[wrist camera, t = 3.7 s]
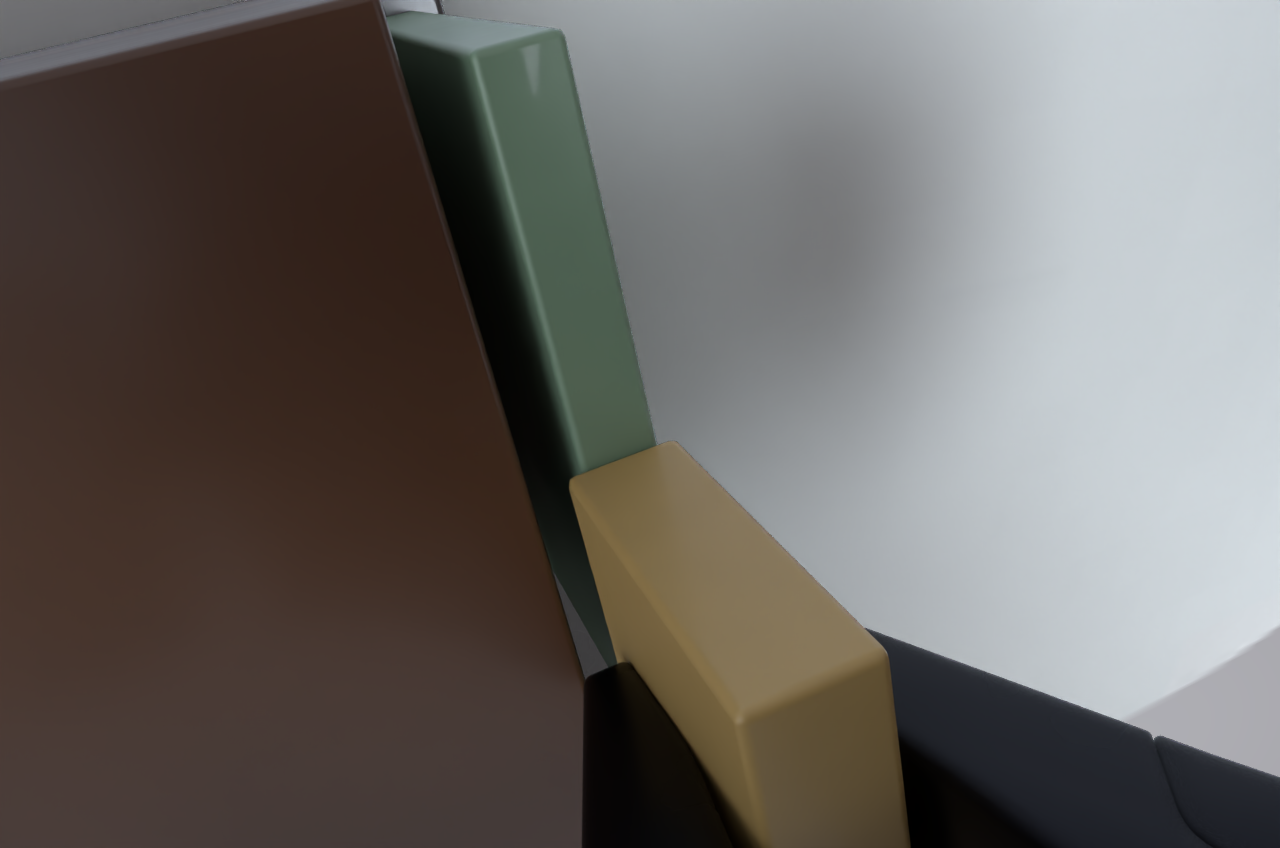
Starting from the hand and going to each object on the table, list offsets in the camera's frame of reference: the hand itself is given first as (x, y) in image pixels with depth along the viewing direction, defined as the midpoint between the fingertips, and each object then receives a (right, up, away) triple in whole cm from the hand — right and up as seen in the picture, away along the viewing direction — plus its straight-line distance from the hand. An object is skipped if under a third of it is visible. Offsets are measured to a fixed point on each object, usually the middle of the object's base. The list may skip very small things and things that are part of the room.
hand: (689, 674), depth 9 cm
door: (-3, +4, +5) cm, 7 cm away
